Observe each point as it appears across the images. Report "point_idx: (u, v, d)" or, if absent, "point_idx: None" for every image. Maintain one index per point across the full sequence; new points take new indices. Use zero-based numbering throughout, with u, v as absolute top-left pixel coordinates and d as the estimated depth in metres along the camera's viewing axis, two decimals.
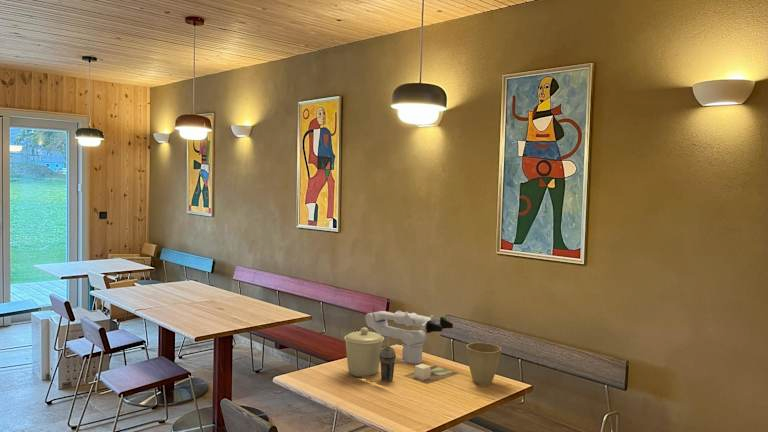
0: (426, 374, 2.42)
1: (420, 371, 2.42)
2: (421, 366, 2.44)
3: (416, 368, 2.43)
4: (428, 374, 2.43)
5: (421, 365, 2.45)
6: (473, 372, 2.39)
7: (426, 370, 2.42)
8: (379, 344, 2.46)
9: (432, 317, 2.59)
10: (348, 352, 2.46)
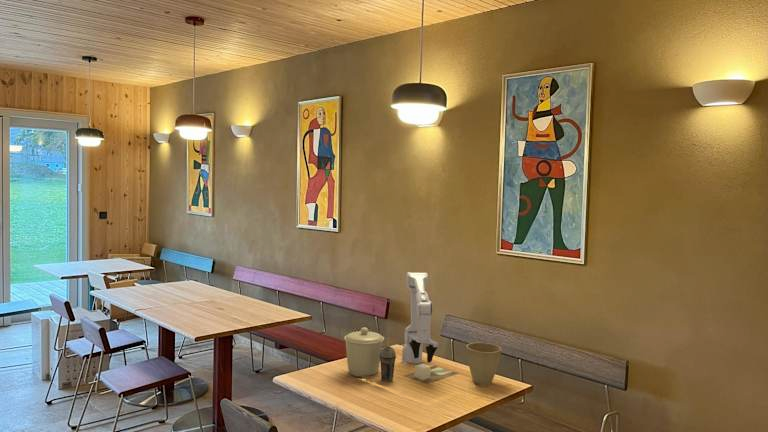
0: (426, 374, 2.42)
1: (420, 371, 2.42)
2: (421, 366, 2.44)
3: (416, 368, 2.43)
4: (428, 374, 2.43)
5: (421, 365, 2.45)
6: (473, 372, 2.39)
7: (426, 370, 2.42)
8: (379, 344, 2.46)
9: (418, 341, 2.42)
10: (348, 352, 2.46)
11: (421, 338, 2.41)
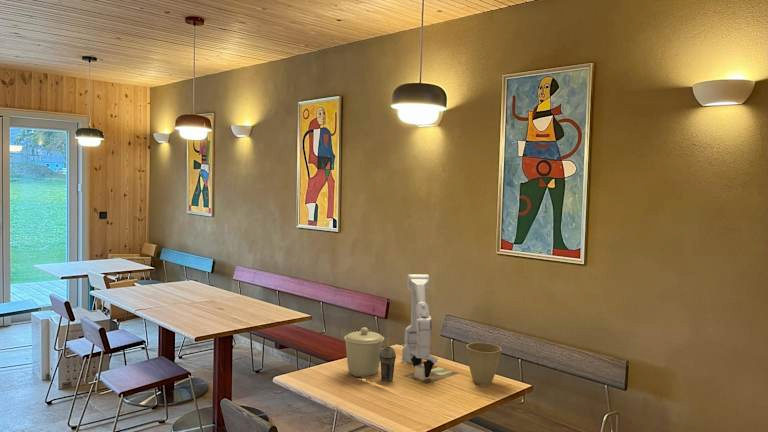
0: None
1: (420, 371, 2.42)
2: (421, 366, 2.44)
3: (416, 368, 2.43)
4: None
5: (421, 365, 2.45)
6: (473, 372, 2.39)
7: None
8: (379, 344, 2.46)
9: (417, 357, 2.42)
10: (348, 352, 2.46)
11: (421, 354, 2.41)
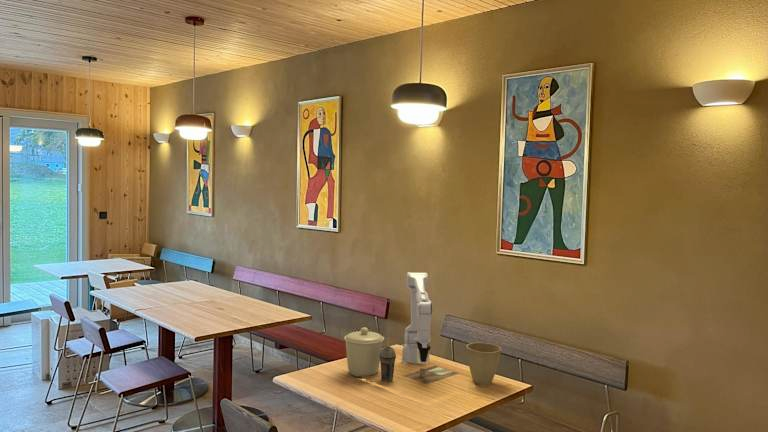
0: None
1: (417, 354, 2.43)
2: None
3: (417, 351, 2.45)
4: None
5: None
6: (473, 372, 2.39)
7: None
8: (379, 344, 2.46)
9: None
10: (348, 352, 2.46)
11: (417, 337, 2.43)
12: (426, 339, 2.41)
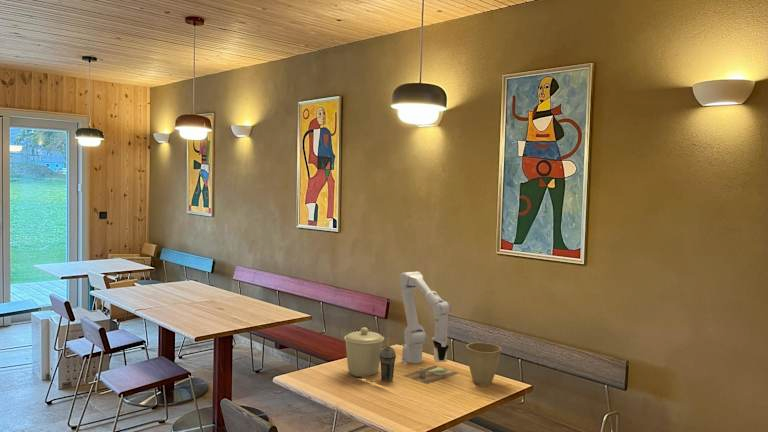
0: None
1: (435, 353, 2.51)
2: None
3: (434, 350, 2.54)
4: None
5: None
6: (473, 372, 2.39)
7: None
8: (379, 344, 2.46)
9: (433, 339, 2.52)
10: (348, 352, 2.46)
11: (435, 336, 2.51)
12: (444, 338, 2.50)
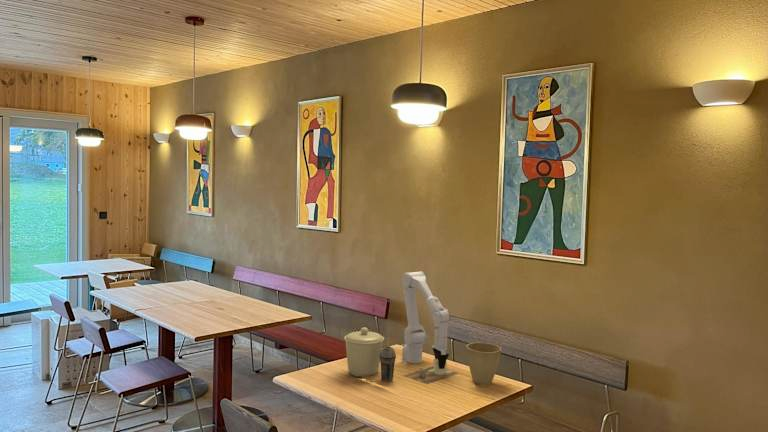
0: None
1: (435, 364, 2.52)
2: None
3: (434, 361, 2.54)
4: (443, 369, 2.50)
5: None
6: (473, 372, 2.39)
7: None
8: (379, 344, 2.46)
9: None
10: (348, 352, 2.46)
11: (435, 344, 2.51)
12: (444, 346, 2.50)
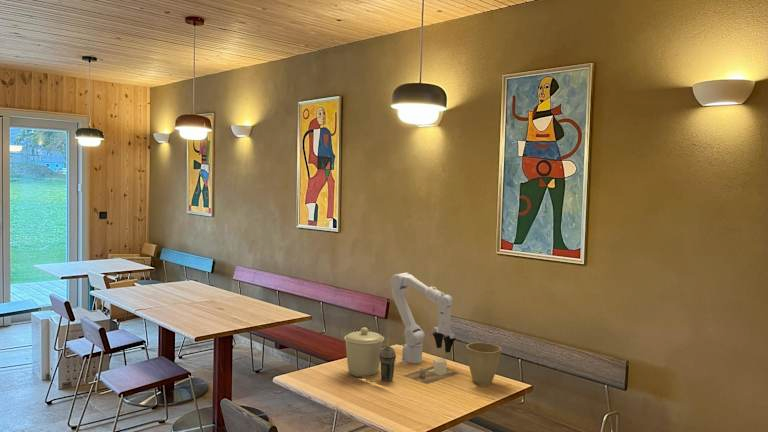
0: (440, 368, 2.50)
1: (435, 364, 2.52)
2: (439, 360, 2.53)
3: (434, 361, 2.54)
4: (443, 369, 2.50)
5: (440, 359, 2.54)
6: (473, 372, 2.39)
7: (440, 364, 2.50)
8: (379, 344, 2.46)
9: None
10: (348, 352, 2.46)
11: (440, 329, 2.56)
12: (449, 330, 2.57)
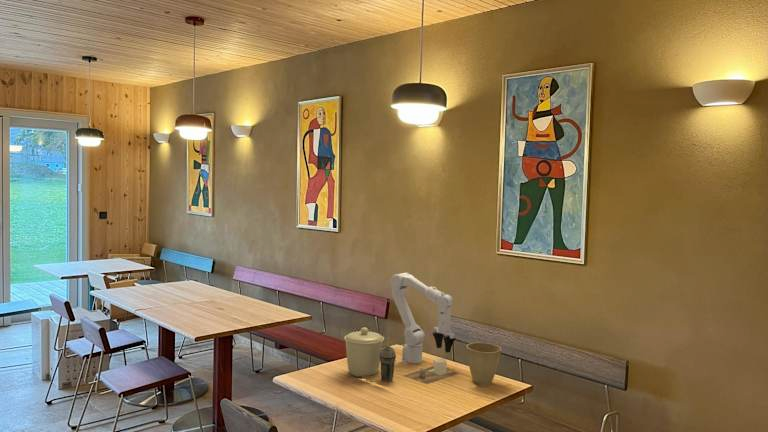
0: (440, 368, 2.50)
1: (435, 364, 2.52)
2: (439, 360, 2.53)
3: (434, 361, 2.54)
4: (443, 369, 2.50)
5: (440, 359, 2.54)
6: (473, 372, 2.39)
7: (440, 364, 2.50)
8: (379, 344, 2.46)
9: None
10: (348, 352, 2.46)
11: (440, 329, 2.56)
12: (449, 330, 2.57)
